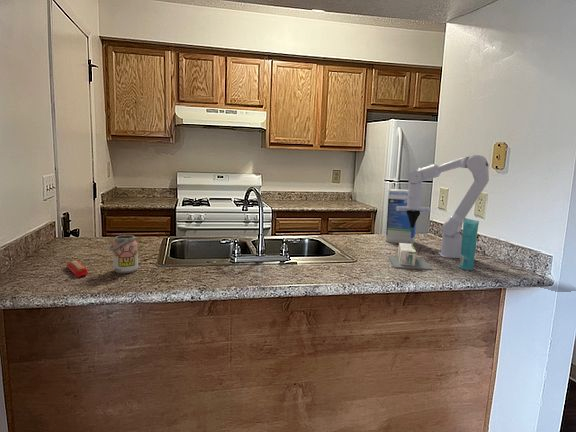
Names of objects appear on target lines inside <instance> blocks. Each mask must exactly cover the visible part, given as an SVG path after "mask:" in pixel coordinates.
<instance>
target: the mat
mask: <svg viewBox="0 0 576 432" xmlns="http://www.w3.org/2000/svg"><path fill="white" fill-rule="evenodd" d="M388 259H389V261H390V263H391V265H392V266H393V268H394V269H405V270H421V271H422V270H423V271H425V270H426V271H433V268H432V267H431V265H430V264H429V263H428V262H427V261H426V260H425V259H424V258H423V257H415V266H413V265H400V262H399V258H398V256H391V255H388Z"/></svg>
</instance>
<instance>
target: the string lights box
mask: <svg viewBox="0 0 576 432" xmlns="http://www.w3.org/2000/svg"><path fill="white" fill-rule="evenodd" d="M407 199H408V189H399V188H398V189H397V188H391V189H389V190H388V195H387V214H386V215H387V216H386V232H385V233H386V234H385V242H386V243H394V244H399V243H407V244H413V245H414V243H415V241H416V226H417V223H415V226H414V228H411V227H410V222H409V218H408V215H407V212H406V211H397V210H396V209H397V206H407ZM410 210H411V209H410Z"/></svg>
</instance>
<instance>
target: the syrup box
mask: <svg viewBox="0 0 576 432" xmlns="http://www.w3.org/2000/svg"><path fill="white" fill-rule="evenodd" d="M397 249H398V252H397V257H398V258H399V262H400V265H413V266H415V258H417V257H416V254H417V251H416V248H415V246H414V243H413V244H407V243H398V248H397Z"/></svg>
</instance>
